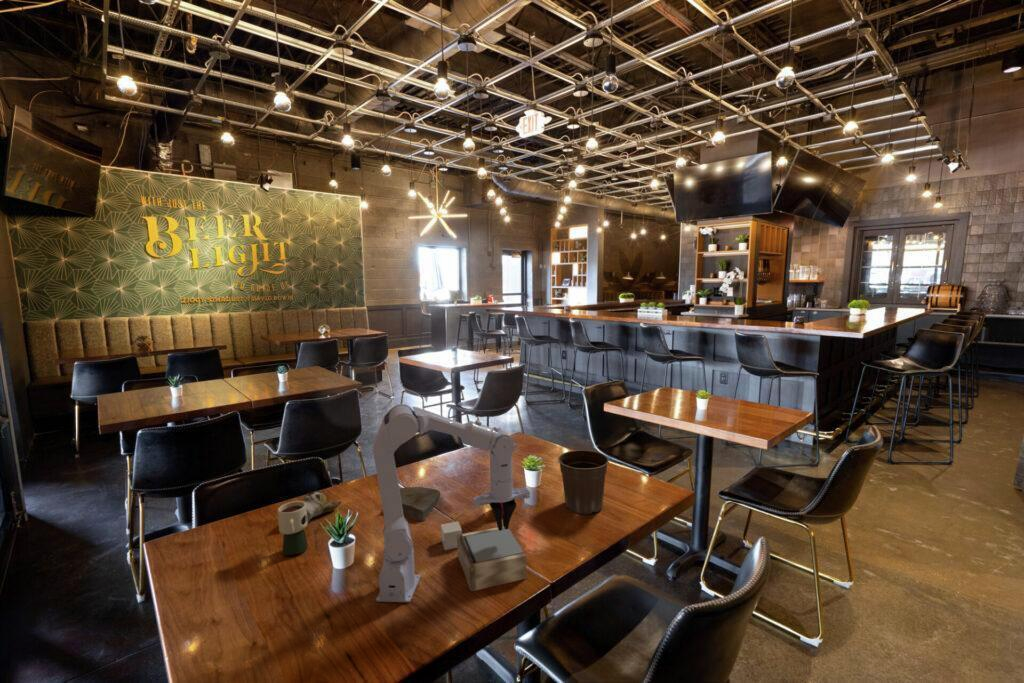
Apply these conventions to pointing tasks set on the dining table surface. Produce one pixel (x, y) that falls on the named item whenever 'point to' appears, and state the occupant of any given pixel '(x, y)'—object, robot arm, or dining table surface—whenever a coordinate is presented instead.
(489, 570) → the frame
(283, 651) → the dining table surface
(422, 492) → the dark grey rock slab
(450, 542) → the pale grey cube
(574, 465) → the plant pot
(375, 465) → the robot arm
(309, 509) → the ceramic sculpture
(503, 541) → the trapdoor flap
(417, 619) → the dining table surface
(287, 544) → the character mug
